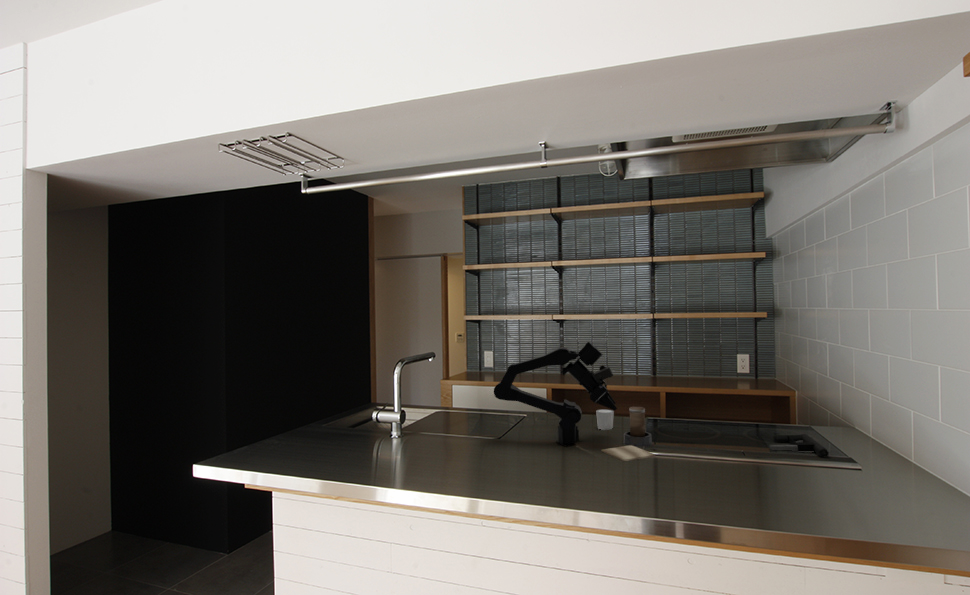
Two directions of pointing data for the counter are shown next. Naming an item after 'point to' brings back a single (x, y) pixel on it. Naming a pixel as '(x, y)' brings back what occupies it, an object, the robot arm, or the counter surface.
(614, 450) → the beige cloth napkin
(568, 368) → the robot arm
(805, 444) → the door handle
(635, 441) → the cup
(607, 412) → the shot glass
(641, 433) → the tapered cup
